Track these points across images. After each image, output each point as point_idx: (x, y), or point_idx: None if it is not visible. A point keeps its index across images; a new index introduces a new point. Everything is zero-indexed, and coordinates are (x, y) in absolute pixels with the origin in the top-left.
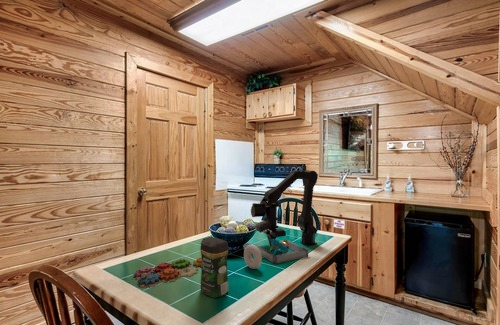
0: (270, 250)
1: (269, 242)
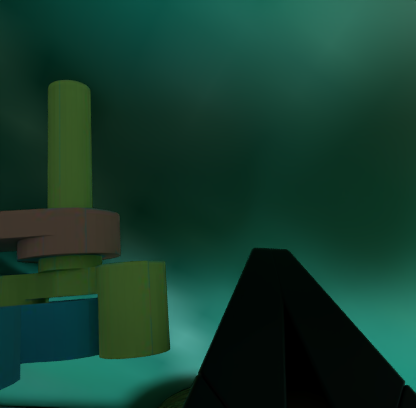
0: (49, 109)
1: (292, 304)
